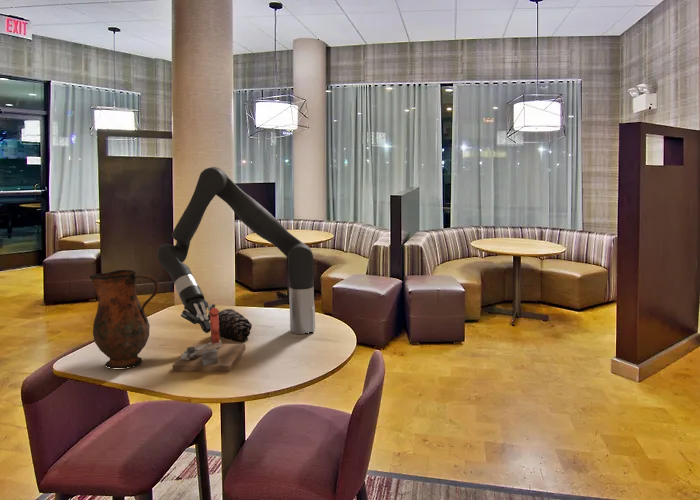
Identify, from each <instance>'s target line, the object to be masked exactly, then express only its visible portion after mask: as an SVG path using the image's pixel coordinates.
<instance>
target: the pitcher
mask: <svg viewBox="0 0 700 500" xmlns="http://www.w3.org/2000/svg"><path fill="white" fill-rule="evenodd" d="M89 278H90V280H91V282H92V285H93V288H94V289H95V294H96V296H97V301H98V303H97V309H96V314H95V317H94V319H93V320H94V321H93V328H92V336H93V341H94V343H95V345H96V347H97V348H98V349H99V351H100V352H102V353H103V354H104V355H105V356H106V357H107V358H108V359H109V360H108V361H106V362H105V365H104V366H105V367H106V366H107V367H110V368H127V367H133V366H136V367H137V365H138V366H139V364H140V365H141V364H142V363H143V358H141V357H140V356H139V354H140V353H141V351H142V350H143V349H144V347H146V345H147V342H148V339H149V337H150V328H151V327H150V326H151V325H150V323H149V318H148V317H147V314H146V312H145V308H146V306H147V305H148V304H149V302H150V301H151V300H153V298H155V296H156V295H157V294H158V292H159V290H160V289H159V288H160V285H159V282H158V279H156V278H155V277H154V276H152V275H149V274H141V275H137V276H136V271H134V270H130V269H117V270H113V271H107V272H103V273H95V274H91V275H89ZM137 278H140V279H141V278H142V279H143V278H144V279H148V280H150V281H152V282H153V284H154V292H153V293H152V294H151V295H150V296H149V298H148V299H147V300H146V301H145V302H144V303H143V304H141V302H140V300H139V298H138V294H137V289H136V280H137ZM107 367H106V368H107ZM110 368H109V369H110ZM133 368H134V367H133Z"/></svg>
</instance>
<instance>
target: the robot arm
mask: <svg viewBox="0 0 700 500" xmlns="http://www.w3.org/2000/svg"><path fill="white" fill-rule="evenodd" d="M192 194H193V195H192V196H191V199H190V201H189V202H188V204H187V206H186V208H185V209H184V212H183V213H182V214H181V217H180V218H179V220H178V221H177V223H176V225H175V228H174V229H173V231H172V233H171V236H172V239H174V241H176V242H175V243H176V244H175V245H173V244H168V243H163V244H160V246H159V247H158V248H157V250H156V258H157V260H158V263H159V264H160V265H161V267H162V268H163V269H164V270H165V271H166V272H167V274H169V276H170V278H171V280H172V282H173V284H174V286H175V290H176V293H177V295H178V297H179V298H180V301H181V303H182V304H183V306H184V307H183V309H184V310H182V312H181V314H180V317H182V318H183V319H185V320H187V321H188V322H190V323H191V324H193V325H199V326H200V328H201V330H202V332H204V333H205V334H207V333H211V327H210V314H209V311H210V309H211V308H216V304H215V303H212V304H210V303H209V302H208V301H207V300H206V299H205V295H204V294H203V291H202V290H201V288H200V286H199V283H198V281H197V280H196V279H195V277H194V275H193V273H192V270H191V269H190V267H189V266H188V264H186V263H184V262H185V260H186V259H187V257H188V253H189V250H190V249H189V248H190V246H191V241H192V239H193V237H194V235H195V234H196V232H197V230H198V228H199V226H200V225H201V221H202V220H203V217H204V214H205V212H206V210H207V209H208V207H209V205H210V203H211V201H213V199H214V198H215V196H216V197H218V198H219V199H221V200H222V201H224V202H225V203H226V204H227V205H228V206H229V207H230V208H231V209H232V211H233V212H234V214H235V216H237V218H239V220H240V221H241V222H242V224H244V225H245V226H246V227H248V229H249V230H251V231H252V232H253V233H254V234H256V236H259V237H260V238H261V239H263V240H265V241H266V242H268V243H271V244H272V245H273V246H275V247H276V248H277V249H278V250H279V251H280V253H282V254H283V255H284V256H285V257H286V258H287V259H288V260H287V262H288V263H287V265H288V291H289V292H288V293H289V294H288V295H289V296H288V297H289V298H288V299H289V300H288V301H289V328H290V332H291V333H292V334H296V335H306V334H305V333H308V332H314V333H315V330H316V307H315V306H316V305H315V296H314V295H315V291H314V289H315V288H314V285H315V283H314V280H315V279H314V278H315V276H314V275H315V274H314V273H315V272H314V271H315V270H314V267H315V266H314V254H313V251H312V249H311V248H310V246H309V245H307V244H306V243H304V242H302V241H301V240H300V239H298V238H297V237H296V236H294V235H293V234H292V233H290V232H289V231H288V230H287V229H286V228H285V227H284V225H282V224H281V222H280V221H279V220H278V219H277V218H276V217H274V216H273V214H272V213H271V212H269V210H267V209H266V208H265V207H264V206H263V205H262V204H260V203H259V202H258V201H256V199H254V198H253V197H251V196H250V194H247V193H246V192H245V191H243V190H242V189H241V188H240V187H239V186H238V185H237V184H236V183H235V182H234V181H233V180H232V179H231V177H229V175H227V173H225V171H224V170H223V169H221V168H219V167H216V166H212V167H207V168H205V169H203V170H202V171H201V172H200V174H199V177H198V180H197V183H196V186H195V188H194V192H193V193H192ZM207 311H208V312H207ZM314 329H315V330H314ZM308 334H309V333H308Z"/></svg>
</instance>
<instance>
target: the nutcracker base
mask: <svg viewBox="0 0 700 500" xmlns="http://www.w3.org/2000/svg"><path fill="white" fill-rule="evenodd" d="M205 344H206V343H193V344H192V345H191V346H189V347H187V348H186V351H188V352H193V351H195V348H197V347H200V346H202V345H205ZM246 350H247V349H246V343H222V346H221V347H218V348H216V349H208V350H202V355H200V356H199V357H198V358H196V359H191V360H188V361H186V360H182V356H180V357H179V358H178V359H177V360H176V361H175V362H174V363H173V364H172V367H171V368H172V372H195V373H196V372H197V373H198V372H199V373H200V372H209V373H210V372H217V373H219V372H220V373H222V372H224V373H225V372H226V373H227V372H229V373H231V372H232V370H233V368H234V367H235V365H236V364H237V363H238V361H239V360H240V358H241V357H242V355H243V354H244V352H245V351H246Z"/></svg>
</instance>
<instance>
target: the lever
mask: <svg viewBox="0 0 700 500" xmlns="http://www.w3.org/2000/svg"><path fill="white" fill-rule="evenodd" d="M219 312H220V310H219V309H218V307H215V308H211V309H210V311H208V313H209V314H210V321H209V322H210V327H211V331H210V342H207V343H204V344H205V345H202V346H200V347H197V348H195V351H193V352H188V351H187V350H185V351H184V352H183V353H181V356H182V360H186V361H188V360H191V359H196V358H198V357H199V356H200V355H202V350H208V349H216V348H218V347H221V346H222V344H223V343H222V340H220V339H221V337H220V334H219V315H218V314H219ZM181 356H180V357H181Z"/></svg>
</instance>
